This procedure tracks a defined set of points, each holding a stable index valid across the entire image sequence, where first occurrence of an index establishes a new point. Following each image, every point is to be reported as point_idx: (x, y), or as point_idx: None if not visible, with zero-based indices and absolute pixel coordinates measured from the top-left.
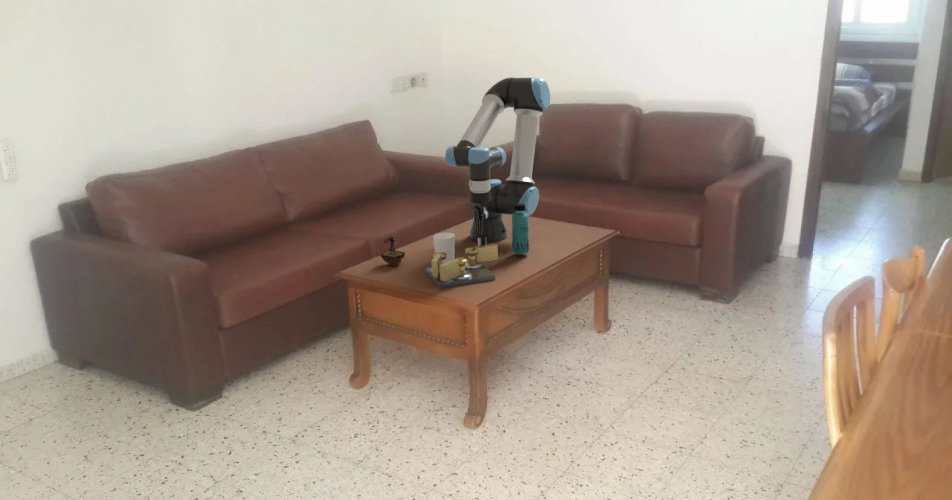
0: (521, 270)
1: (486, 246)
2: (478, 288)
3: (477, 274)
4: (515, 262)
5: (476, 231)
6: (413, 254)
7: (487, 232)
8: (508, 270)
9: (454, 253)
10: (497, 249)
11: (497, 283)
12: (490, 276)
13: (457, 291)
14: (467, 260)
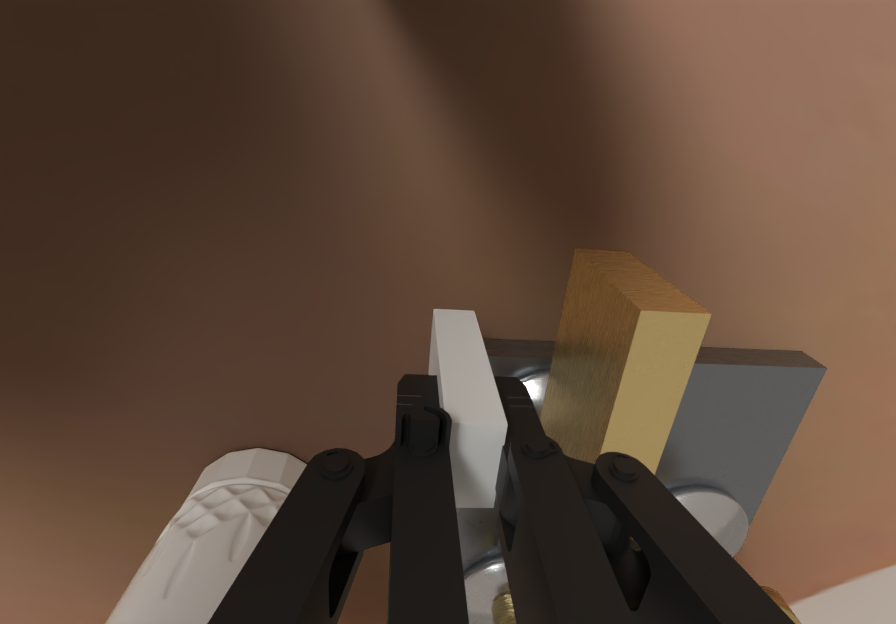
0: (800, 81)
1: (660, 435)
2: (829, 472)
3: (720, 453)
4: (582, 16)
5: (362, 551)
6: (42, 608)
7: (683, 527)
8: (717, 187)
9: (263, 489)
10: (678, 291)
11: (859, 362)
12: (811, 398)
13: (777, 558)
14: (793, 616)
